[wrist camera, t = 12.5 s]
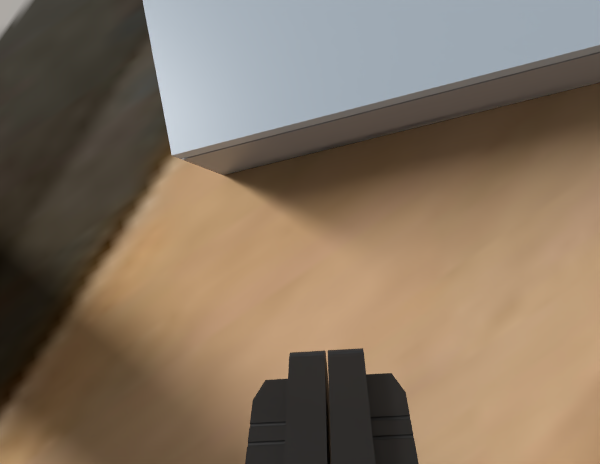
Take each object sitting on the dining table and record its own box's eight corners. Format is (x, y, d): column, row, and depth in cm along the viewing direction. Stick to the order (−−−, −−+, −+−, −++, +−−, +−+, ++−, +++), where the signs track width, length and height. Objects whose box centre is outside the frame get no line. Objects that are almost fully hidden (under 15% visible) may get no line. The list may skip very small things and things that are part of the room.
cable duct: (671, 64, 29) (737, 17, 23) (223, 175, 33) (182, 159, 27) (623, -123, 30) (675, -215, 24) (190, 10, 34) (143, -40, 28)
